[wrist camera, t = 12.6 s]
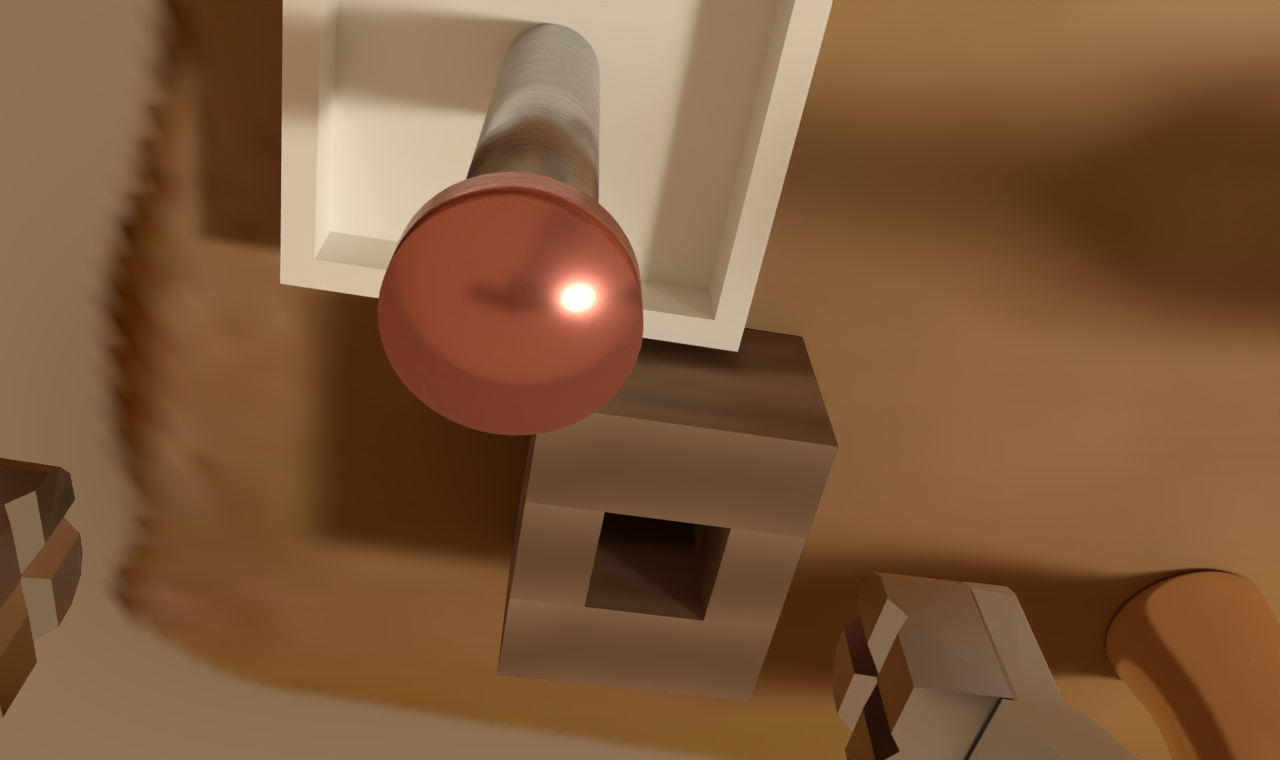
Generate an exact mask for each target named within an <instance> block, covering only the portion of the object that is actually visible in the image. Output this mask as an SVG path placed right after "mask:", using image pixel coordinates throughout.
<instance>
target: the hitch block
mask: <svg viewBox="0 0 1280 760" xmlns="http://www.w3.org/2000/svg"><path fill="white" fill-rule="evenodd" d="M837 449H838V444H837V441H836V438H835V435H834V432H833V429H832V426H831V423H830V420H829V417H828V414H827V411H826V408H825V405H824V401H823V398H822V395H821V392H820V389H819V386H818V383H817V380H816V377H815V374H814V371H813V368H812V365H811V362H810V359H809V356H808V353H807V350H806V346H805V343H804V340H803V337H798V336H791V335H784V334H778V333H771V332H765V331H758V330H752V329H745V328H744V331H743V335H742V338H741V342H740V346H739V349H738V352H736V351H729V350H722V349H716V348H709V347H702V346H695V345H689V344H682V343H675V342H669V341H662V340H655V339H649V338H642V345H641V349H640V352H639V355H638V359H637V361H636V364H635V366H634V368H633V370H632V372H631V374H630V376H629V377H628V379H627V380H626V382H625V383H624V385H623V386H622V388H621V389H620V390H619V391H618V392H617V393H616V395H615V396H614V397H613V398H612V399H611V400H610V401H608V402H607V403H606V404H605V405H604V406H603V407H602V408H600V409H599V410H597V411H596V412H594V413H593V414H592V415H590V416H588V417H587V418H585V419H583V420H581V421H579V422H577V423H575V424H572V425H570V426H567V427H564V428H562V429H558V430H554V431H550V432H546V433H540V434H533V435H530V438H529V444H528V451H527V457H526V463H525V469H524V476H523V482H522V488H521V495H520V501H519V507H518V514H517V520H516V526H515V532H514V539H513V545H512V553H511V562H510V570H509V579H508V588H507V596H506V605H505V613H504V622H503V631H502V639H501V648H500V656H499V665H498V674H497V675H506V676H515V677H525V678H534V679H543V680H552V681H561V682H571V683H580V684H589V685H598V686H608V687H617V688H626V689H635V690H644V691H654V692H663V693H672V694H681V695H691V696H700V697H709V698H718V699H727V700H737V701H746V702H750V700H751V697H752V694H753V692H754V689H755V686H756V683H757V680H758V677H759V674H760V671H761V668H762V666H763V663H764V660H765V657H766V654H767V651H768V648H769V645H770V642H771V640H772V637H773V634H774V631H775V628H776V625H777V622H778V619H779V617H780V614H781V611H782V608H783V605H784V602H785V599H786V596H787V593H788V591H789V588H790V585H791V582H792V579H793V576H794V573H795V570H796V567H797V565H798V562H799V559H800V556H801V553H802V550H803V547H804V544H805V541H806V539H807V536H808V533H809V530H810V527H811V524H812V521H813V518H814V515H815V513H816V510H817V507H818V504H819V501H820V498H821V495H822V492H823V490H824V487H825V484H826V481H827V478H828V475H829V472H830V469H831V466H832V464H833V461H834V458H835V455H836V452H837Z"/></svg>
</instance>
